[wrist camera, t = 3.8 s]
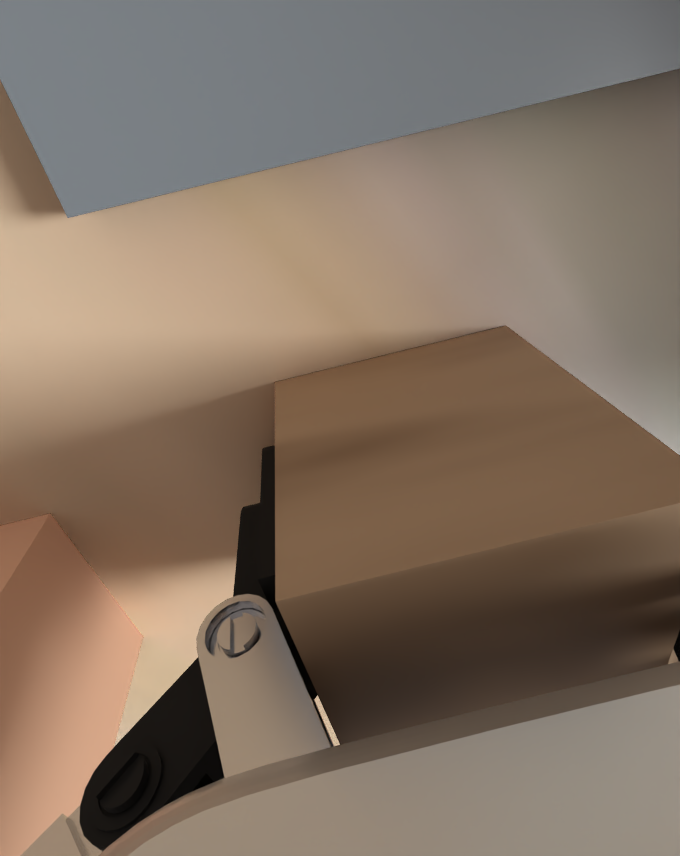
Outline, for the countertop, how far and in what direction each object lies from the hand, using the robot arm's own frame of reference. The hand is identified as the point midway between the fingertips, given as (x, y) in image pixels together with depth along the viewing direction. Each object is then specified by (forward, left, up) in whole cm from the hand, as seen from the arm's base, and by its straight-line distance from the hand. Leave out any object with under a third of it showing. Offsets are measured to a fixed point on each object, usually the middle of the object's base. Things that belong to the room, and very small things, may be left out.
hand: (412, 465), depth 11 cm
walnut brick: (0, 0, -1) cm, 1 cm away
